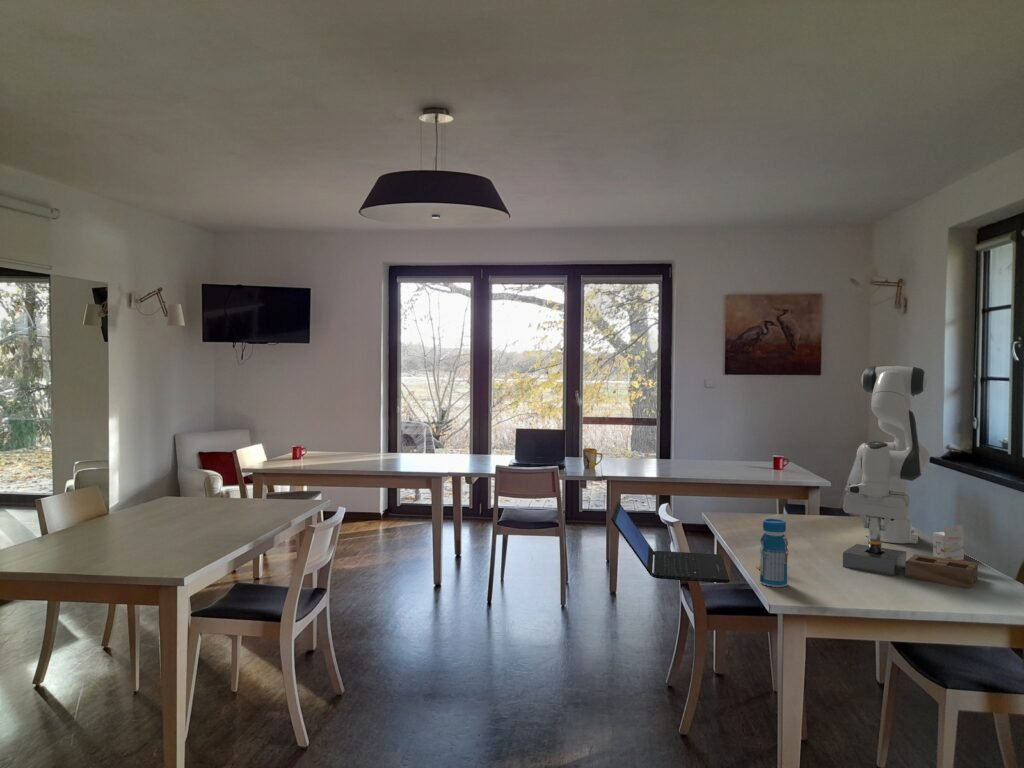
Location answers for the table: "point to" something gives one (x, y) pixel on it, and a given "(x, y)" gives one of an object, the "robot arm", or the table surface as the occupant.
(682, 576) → the laptop
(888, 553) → the socket block
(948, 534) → the ink cartridge box
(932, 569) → the walnut rack
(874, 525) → the metal vial
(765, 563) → the beverage bottle
